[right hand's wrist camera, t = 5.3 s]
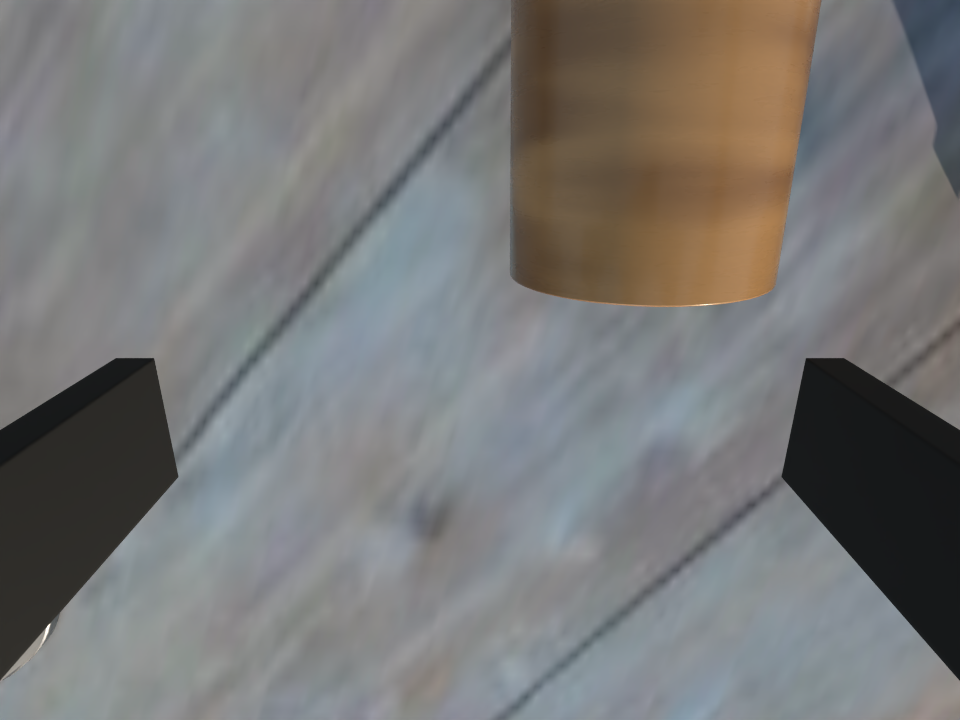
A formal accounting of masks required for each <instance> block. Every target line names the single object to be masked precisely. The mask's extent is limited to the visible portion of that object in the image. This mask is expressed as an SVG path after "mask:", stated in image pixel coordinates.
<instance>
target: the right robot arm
mask: <svg viewBox="0 0 960 720" xmlns="http://www.w3.org/2000/svg"><path fill="white" fill-rule="evenodd" d="M177 478H178V473H177V468H176V463H175V458H174V453H173V448H172V443H171V439H170V434H169V429H168V424H167V419H166V414H165V409H164V405H163V400H162V395H161V390H160V385H159V380H158V375H157V371H156V366H155V361H154V358H116V359H114V360H112V361H111V362H109V363H108V364H106V365H104V366H103V367H101V368H100V369H98V370H96V371H95V372H93V373H91V374H90V375H88V376H87V377H85V378H83V379H82V380H80V381H79V382H77V383H75V384H74V385H72V386H71V387H69V388H67V389H66V390H64V391H63V392H61V393H59V394H58V395H56V396H54V397H53V398H51V399H50V400H48V401H46V402H45V403H43V404H42V405H40V406H38V407H37V408H35V409H34V410H32V411H30V412H29V413H27V414H25V415H24V416H22V417H21V418H19V419H17V420H16V421H14V422H13V423H11V424H9V425H8V426H6V427H5V428H3V429H1V430H0V681H2V680H4V679H6V678H7V677H9V676H11V675H12V674H14V673H15V672H16V671H18V670H19V669H20V668H21V667H22V666H23V665H24V664H26V663H27V662H28V661H29V660H30V659H31V658H32V657H33V656H34V655H35V654H36V653H37V651H38V650H39V649H40V648H41V647H42V645H43V644H44V643H45V642H46V641H47V639H48V638H49V637H50V635H51V634H52V632H53V630H54V628H55V626H56V624H57V621H58V617H59V613H60V612H61V611H62V609H63V608H64V607H65V606H66V605H67V604H68V603H69V601H70V600H71V599H72V598H73V597H74V596H75V595H76V593H77V592H78V591H79V590H80V589H81V588H82V587H83V585H84V584H85V583H86V582H87V581H88V580H89V579H90V577H91V576H92V575H93V574H94V573H95V572H96V571H97V569H98V568H99V567H100V566H101V565H102V564H103V563H104V561H105V560H106V559H107V558H108V557H109V556H110V555H111V553H112V552H113V551H114V550H115V549H116V548H117V547H118V545H119V544H120V543H121V542H122V541H123V540H124V538H125V537H126V536H127V535H128V534H129V533H130V532H131V530H132V529H133V528H134V527H135V526H136V525H137V524H138V522H139V521H140V520H141V519H142V518H143V517H144V516H145V514H146V513H147V512H148V511H149V510H150V509H151V508H152V506H153V505H154V504H155V503H156V502H157V501H158V500H159V498H160V497H161V496H162V495H163V494H164V493H165V492H166V490H167V489H168V488H169V487H170V486H171V485H172V484H173V482H174V481H175V480H176V479H177ZM782 478H783V479H784V480H785V481H786V482H787V484H788V485H789V486H790V487H791V488H792V489H793V490H794V492H795V493H796V494H797V495H798V496H799V497H800V498H801V500H802V501H803V502H804V503H805V504H806V505H807V506H808V508H809V509H810V510H811V511H812V512H813V513H814V514H815V516H816V517H817V518H818V519H819V520H820V521H821V522H822V524H823V525H824V526H825V527H826V528H827V529H828V530H829V532H830V533H831V534H832V535H833V536H834V537H835V538H836V540H837V541H838V542H839V543H840V544H841V545H842V547H843V548H844V549H845V550H846V551H847V552H848V553H849V555H850V556H851V557H852V558H853V559H854V560H855V561H856V563H857V564H858V565H859V566H860V567H861V568H862V569H863V571H864V572H865V573H866V574H867V575H868V576H869V577H870V579H871V580H872V581H873V582H874V583H875V584H876V585H877V587H878V588H879V589H880V590H881V591H882V592H883V593H884V595H885V596H886V597H887V598H888V599H889V600H890V601H891V603H892V604H893V605H894V606H895V607H896V608H897V609H898V611H899V612H900V613H901V614H902V615H903V616H904V617H905V619H906V620H907V621H908V622H909V623H910V624H911V625H912V627H913V628H914V629H915V630H916V631H917V632H918V633H919V635H920V636H921V637H922V638H923V639H924V640H925V641H926V643H927V644H928V645H929V646H930V647H931V648H932V649H933V651H934V652H935V653H936V654H937V655H938V656H939V657H940V659H941V660H942V661H943V662H944V663H945V664H946V665H947V667H948V668H949V669H950V670H951V671H952V672H953V673H954V675H955V676H956V677H957V678H958V679H959V680H960V430H959V429H957V428H955V427H954V426H952V425H951V424H949V423H947V422H946V421H944V420H943V419H941V418H939V417H938V416H936V415H935V414H933V413H931V412H930V411H928V410H926V409H925V408H923V407H922V406H920V405H918V404H917V403H915V402H914V401H912V400H910V399H909V398H907V397H906V396H904V395H902V394H901V393H899V392H897V391H896V390H894V389H893V388H891V387H889V386H888V385H886V384H885V383H883V382H881V381H880V380H878V379H877V378H875V377H873V376H872V375H870V374H869V373H867V372H865V371H864V370H862V369H860V368H859V367H857V366H856V365H854V364H852V363H851V362H849V361H848V360H846V359H844V358H806V361H805V366H804V371H803V375H802V380H801V385H800V390H799V395H798V400H797V405H796V409H795V414H794V419H793V424H792V429H791V434H790V439H789V443H788V448H787V453H786V458H785V463H784V468H783V473H782Z"/></svg>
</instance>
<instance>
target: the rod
mask: <svg viewBox="0 0 960 720" xmlns="http://www.w3.org/2000/svg"><path fill="white" fill-rule="evenodd" d="M820 6H821V0H511V178H510V275H511V277H512V279H513V280H514V281H516V282H517V283H519V284H521V285H522V286H524V287H527V288H529V289H532V290H535V291H538V292H542V293H545V294H549V295H553V296H558V297H562V298H568V299H573V300H579V301H587V302H594V303H603V304H614V305H628V306H650V307H684V306H704V305H717V304H725V303H732V302H738V301H743V300H748V299H752V298H755V297H759V296H761V295H764V294H766V293H768V292H769V291H771V290H772V289H773V288H774V286H775V285H776V279H777V273H778V267H779V261H780V254H781V248H782V242H783V236H784V230H785V223H786V217H787V211H788V205H789V198H790V192H791V186H792V180H793V174H794V167H795V161H796V155H797V149H798V142H799V136H800V130H801V124H802V118H803V111H804V105H805V99H806V93H807V87H808V80H809V74H810V68H811V62H812V55H813V49H814V43H815V37H816V31H817V24H818V18H819V12H820Z"/></svg>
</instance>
